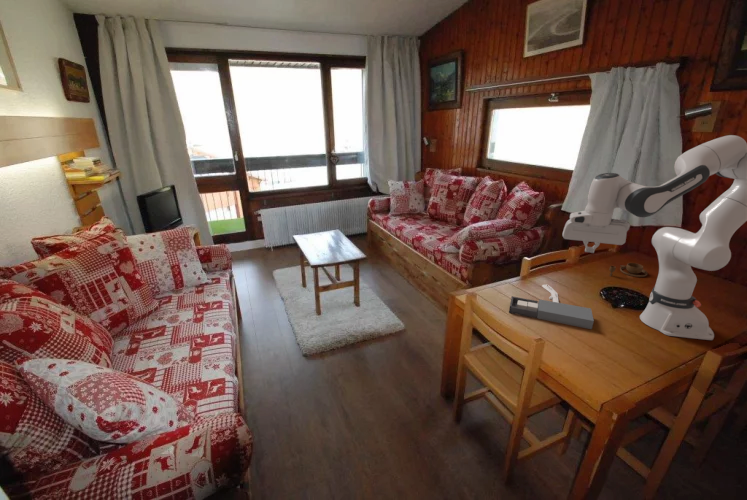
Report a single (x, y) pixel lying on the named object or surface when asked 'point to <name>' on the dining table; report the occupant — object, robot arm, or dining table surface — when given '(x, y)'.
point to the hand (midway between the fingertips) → (589, 251)
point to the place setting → (630, 269)
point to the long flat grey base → (565, 314)
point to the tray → (521, 311)
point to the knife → (552, 293)
